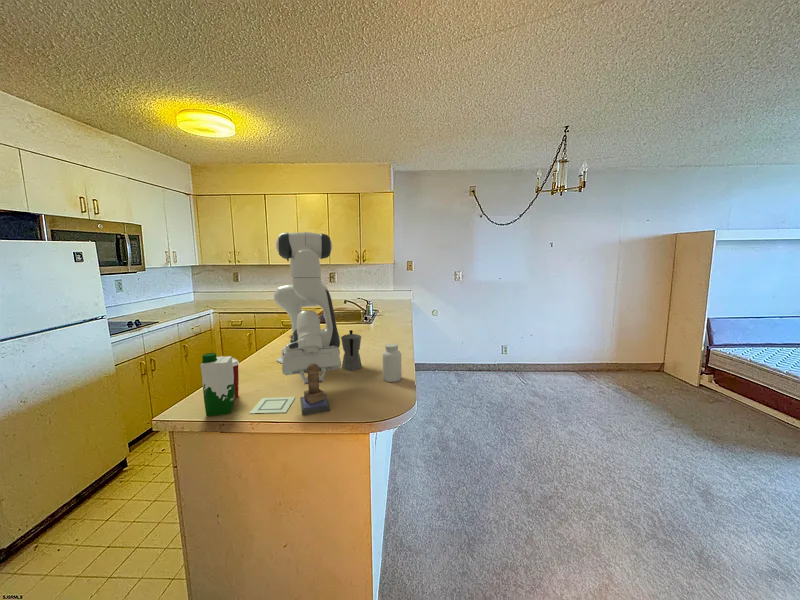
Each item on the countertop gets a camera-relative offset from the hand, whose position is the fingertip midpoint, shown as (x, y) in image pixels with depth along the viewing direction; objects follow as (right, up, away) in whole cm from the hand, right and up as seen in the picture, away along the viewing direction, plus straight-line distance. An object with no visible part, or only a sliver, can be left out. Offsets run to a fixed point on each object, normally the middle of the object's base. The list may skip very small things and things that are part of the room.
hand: (313, 382), depth 113 cm
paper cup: (-34, -8, +10) cm, 36 cm away
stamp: (0, -7, +1) cm, 7 cm away
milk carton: (-31, -9, -1) cm, 33 cm away
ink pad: (0, -9, +2) cm, 9 cm away
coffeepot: (+7, -4, +42) cm, 43 cm away
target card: (-15, -9, +3) cm, 17 cm away
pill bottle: (+26, -5, +27) cm, 39 cm away
